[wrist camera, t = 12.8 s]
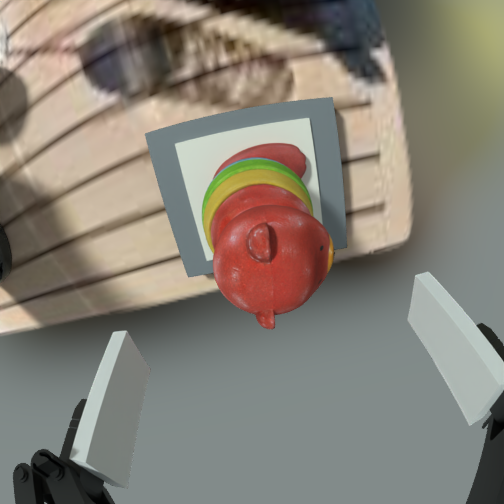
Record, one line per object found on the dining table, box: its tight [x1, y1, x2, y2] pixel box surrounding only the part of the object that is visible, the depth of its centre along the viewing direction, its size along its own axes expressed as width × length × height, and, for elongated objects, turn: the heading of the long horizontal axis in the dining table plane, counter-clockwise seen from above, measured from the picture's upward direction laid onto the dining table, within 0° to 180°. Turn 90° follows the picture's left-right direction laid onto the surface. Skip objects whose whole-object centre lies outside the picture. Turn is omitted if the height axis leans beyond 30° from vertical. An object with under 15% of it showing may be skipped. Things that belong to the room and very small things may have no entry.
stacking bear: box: [202, 143, 335, 329], centre depth 23 cm, size 11×10×18 cm
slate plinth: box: [145, 97, 347, 277], centre depth 32 cm, size 20×18×3 cm
